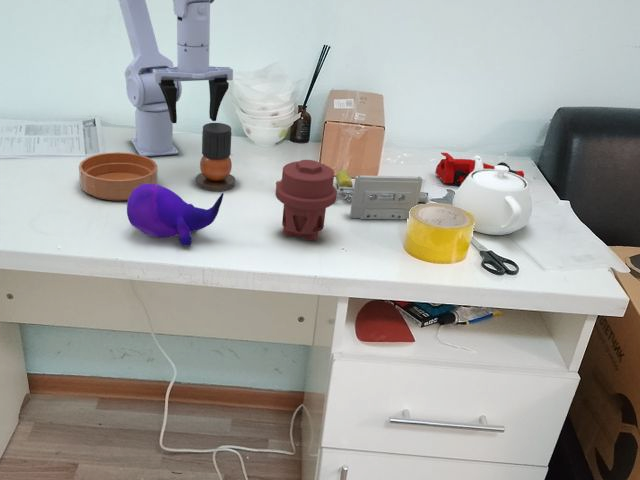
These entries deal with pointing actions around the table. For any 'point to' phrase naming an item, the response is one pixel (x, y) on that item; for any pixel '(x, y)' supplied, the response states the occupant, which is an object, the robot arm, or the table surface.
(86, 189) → the round terracotta dish
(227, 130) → the cap
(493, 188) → the teapot
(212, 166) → the sphere on round base
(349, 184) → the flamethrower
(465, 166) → the toy car
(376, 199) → the cassette
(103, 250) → the table surface
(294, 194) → the mechanical component
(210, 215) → the toy
